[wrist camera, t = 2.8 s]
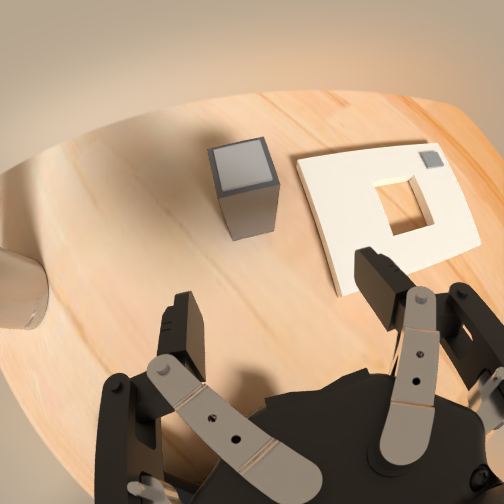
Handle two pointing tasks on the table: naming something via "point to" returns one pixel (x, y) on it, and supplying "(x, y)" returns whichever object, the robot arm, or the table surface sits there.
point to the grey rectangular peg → (246, 186)
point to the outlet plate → (372, 213)
